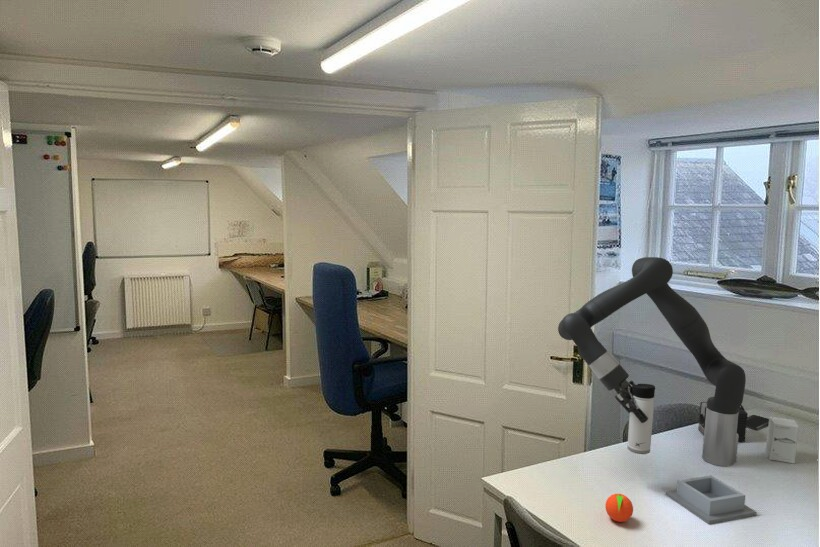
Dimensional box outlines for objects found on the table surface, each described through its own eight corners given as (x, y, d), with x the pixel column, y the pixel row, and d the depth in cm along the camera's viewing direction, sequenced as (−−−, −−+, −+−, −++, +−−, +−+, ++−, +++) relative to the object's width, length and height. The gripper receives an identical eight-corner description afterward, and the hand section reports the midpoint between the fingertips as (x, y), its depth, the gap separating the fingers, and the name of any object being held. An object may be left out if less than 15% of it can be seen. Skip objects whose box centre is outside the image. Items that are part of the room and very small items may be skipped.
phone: (775, 420, 228) (756, 428, 220) (774, 423, 229) (756, 431, 220) (753, 414, 235) (735, 422, 226) (753, 417, 235) (734, 425, 226)
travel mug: (640, 456, 169) (645, 389, 166) (622, 447, 175) (627, 382, 172) (655, 452, 172) (661, 386, 169) (637, 444, 178) (642, 379, 175)
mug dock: (709, 487, 176) (711, 471, 175) (755, 515, 161) (757, 497, 160) (665, 494, 171) (666, 478, 170) (708, 524, 156) (710, 506, 155)
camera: (694, 428, 221) (697, 389, 219) (734, 431, 219) (738, 392, 217) (704, 440, 210) (708, 399, 208) (746, 443, 208) (750, 402, 206)
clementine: (632, 531, 152) (634, 505, 151) (603, 526, 154) (605, 500, 153) (632, 516, 159) (634, 491, 158) (605, 510, 161) (606, 486, 161)
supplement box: (769, 460, 195) (772, 423, 194) (765, 451, 202) (768, 415, 200) (795, 464, 192) (799, 427, 191) (790, 455, 199) (794, 419, 198)
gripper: (612, 369, 168) (653, 418, 164) (623, 357, 180) (662, 403, 176) (592, 384, 172) (632, 432, 167) (605, 371, 184) (642, 416, 179)
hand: (647, 417), depth 171 cm, fingers closed on travel mug, 6 cm apart
